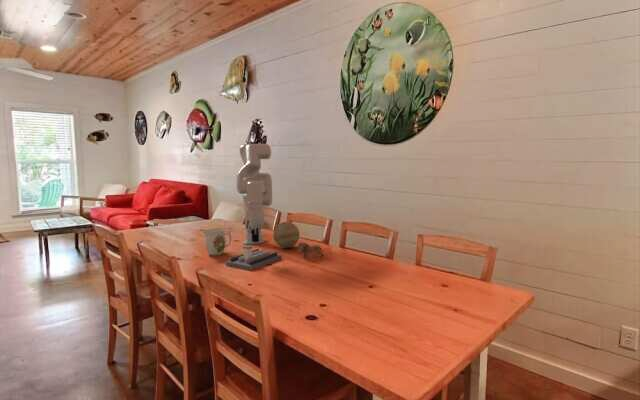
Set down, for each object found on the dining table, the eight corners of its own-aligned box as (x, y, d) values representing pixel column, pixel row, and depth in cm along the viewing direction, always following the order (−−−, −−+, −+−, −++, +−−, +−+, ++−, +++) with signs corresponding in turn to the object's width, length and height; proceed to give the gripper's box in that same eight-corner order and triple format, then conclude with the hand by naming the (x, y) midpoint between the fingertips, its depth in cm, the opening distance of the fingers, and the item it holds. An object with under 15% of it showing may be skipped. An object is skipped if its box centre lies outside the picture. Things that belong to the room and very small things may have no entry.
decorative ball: (287, 252, 212) (287, 225, 210) (268, 248, 221) (267, 222, 219) (304, 246, 224) (304, 221, 222) (285, 243, 233) (285, 219, 231)
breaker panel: (257, 254, 208) (257, 247, 207) (281, 258, 199) (281, 250, 199) (226, 265, 187) (225, 257, 187) (251, 270, 179) (250, 262, 178)
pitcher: (237, 252, 212) (236, 227, 210) (207, 258, 199) (206, 232, 197) (226, 248, 219) (225, 225, 218) (197, 254, 206) (196, 229, 205)
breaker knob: (247, 258, 191) (247, 245, 190) (252, 259, 189) (252, 246, 188) (243, 260, 188) (242, 246, 187) (248, 261, 186) (247, 247, 186)
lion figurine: (299, 260, 196) (299, 243, 195) (296, 257, 201) (296, 241, 200) (325, 257, 201) (325, 241, 200) (322, 255, 206) (322, 238, 205)
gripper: (258, 203, 199) (259, 237, 202) (238, 207, 186) (239, 243, 189) (269, 204, 195) (270, 239, 198) (250, 208, 182) (251, 246, 185)
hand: (255, 241), depth 194 cm, fingers closed
